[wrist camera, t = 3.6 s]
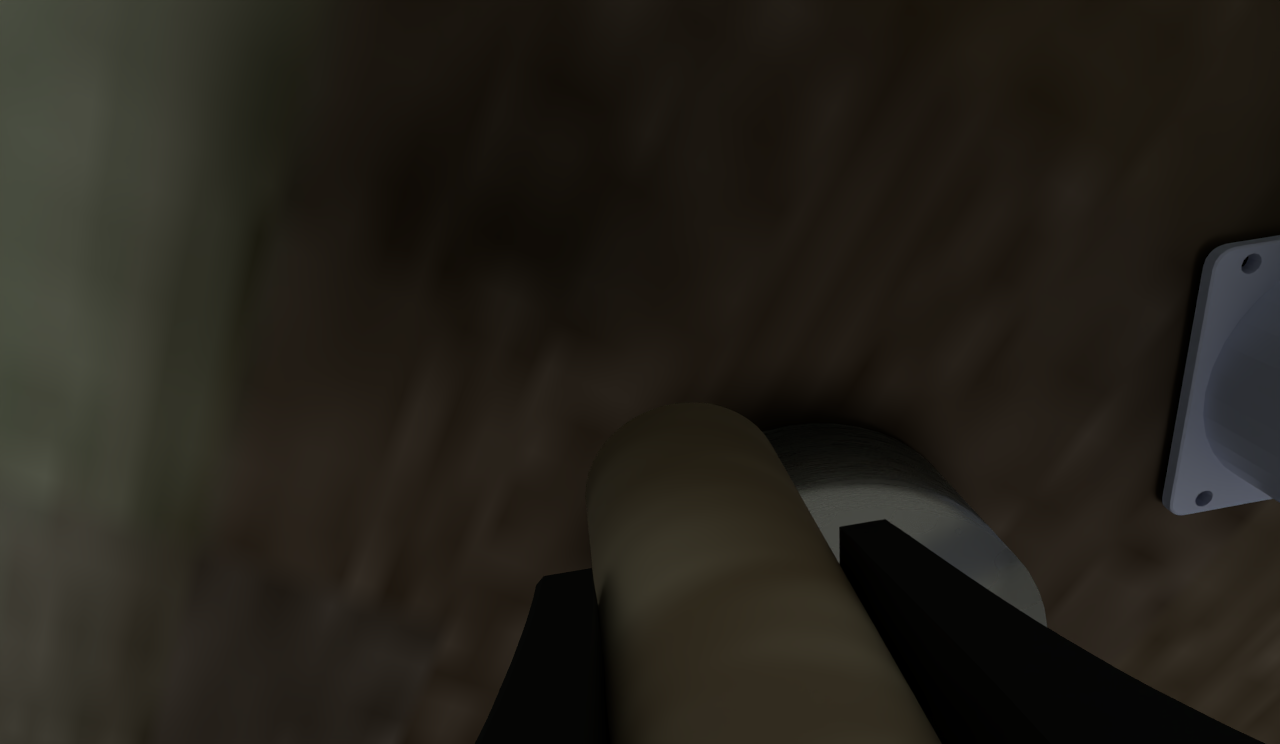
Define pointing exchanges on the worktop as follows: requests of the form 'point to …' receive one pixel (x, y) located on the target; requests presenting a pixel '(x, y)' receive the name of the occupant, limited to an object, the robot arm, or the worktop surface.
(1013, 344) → the worktop surface
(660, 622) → the key peg
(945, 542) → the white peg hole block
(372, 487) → the worktop surface
